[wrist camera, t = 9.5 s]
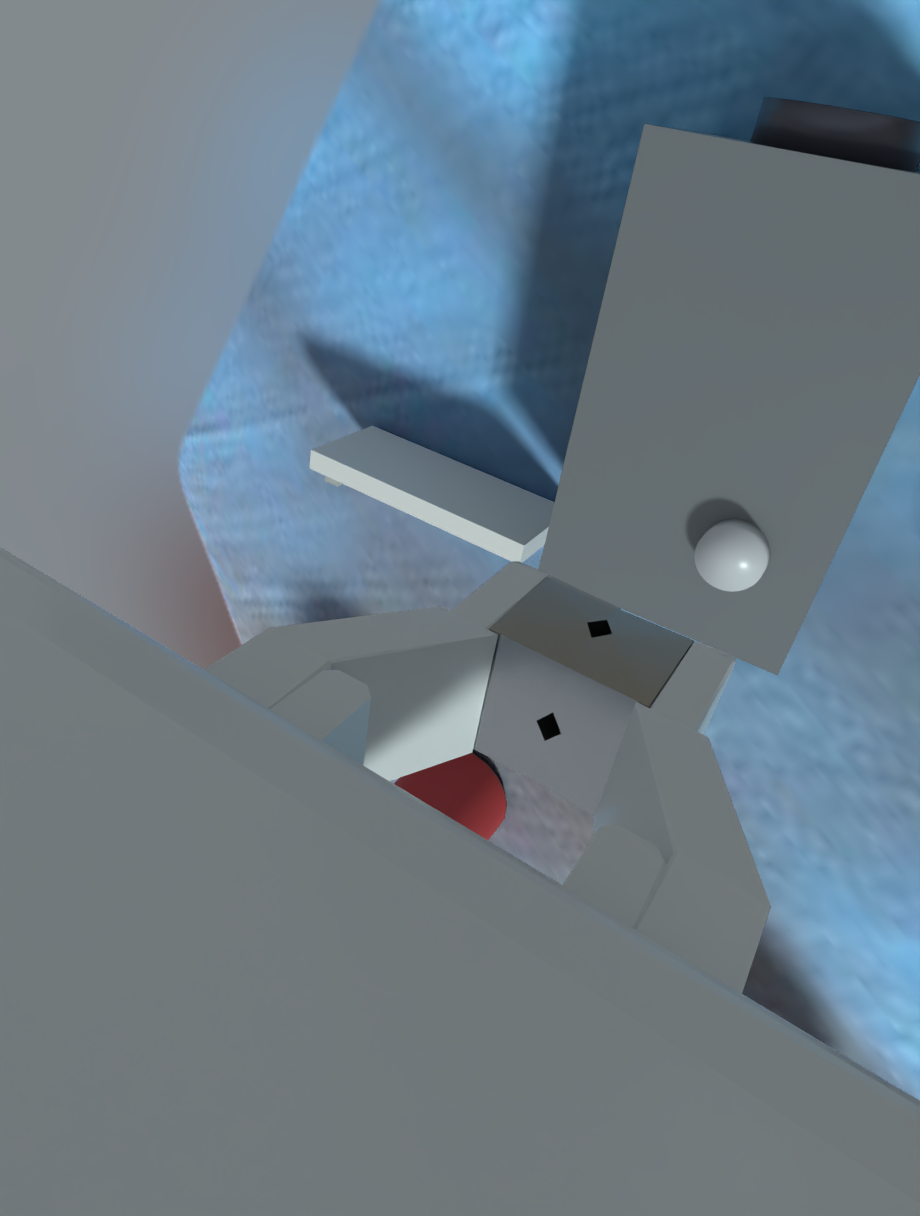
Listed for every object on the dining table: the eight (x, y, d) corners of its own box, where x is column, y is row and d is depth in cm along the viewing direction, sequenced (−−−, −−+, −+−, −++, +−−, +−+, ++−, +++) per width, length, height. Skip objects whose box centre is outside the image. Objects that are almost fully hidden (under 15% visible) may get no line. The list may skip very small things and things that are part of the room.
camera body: (714, 94, 29) (639, 73, 23) (1026, 145, 25) (1033, 135, 19) (598, 516, 38) (525, 578, 32) (811, 598, 34) (772, 685, 28)
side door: (369, 453, 43) (308, 479, 39) (372, 425, 42) (311, 449, 39) (563, 537, 39) (516, 576, 35) (571, 509, 38) (524, 545, 34)
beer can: (410, 739, 52) (286, 857, 43) (493, 741, 48) (375, 871, 39) (441, 822, 54) (328, 952, 45) (523, 831, 50) (418, 975, 41)
